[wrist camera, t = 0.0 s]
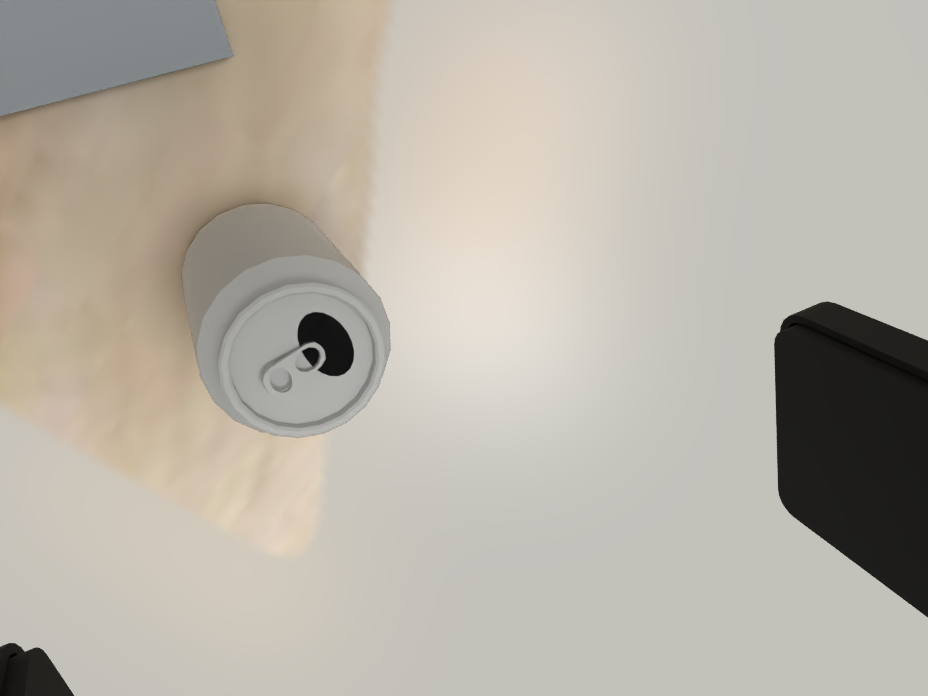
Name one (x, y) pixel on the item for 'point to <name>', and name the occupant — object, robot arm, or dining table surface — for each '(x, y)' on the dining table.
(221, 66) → the dining table surface
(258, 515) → the dining table surface
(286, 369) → the can
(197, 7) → the base plate
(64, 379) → the dining table surface
